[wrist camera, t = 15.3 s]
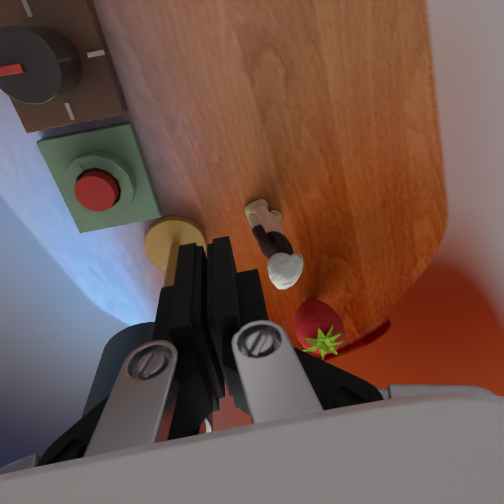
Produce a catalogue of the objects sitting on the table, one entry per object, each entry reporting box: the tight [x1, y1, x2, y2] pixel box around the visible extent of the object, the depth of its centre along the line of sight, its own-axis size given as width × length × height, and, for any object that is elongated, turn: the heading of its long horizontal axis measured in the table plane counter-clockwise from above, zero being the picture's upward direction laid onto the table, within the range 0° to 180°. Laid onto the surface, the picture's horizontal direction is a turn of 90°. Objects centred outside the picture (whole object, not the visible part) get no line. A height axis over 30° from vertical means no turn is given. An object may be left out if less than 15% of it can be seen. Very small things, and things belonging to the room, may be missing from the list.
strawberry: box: [294, 298, 345, 359], centre depth 45 cm, size 6×8×10 cm
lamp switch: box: [75, 170, 119, 212], centre depth 34 cm, size 4×4×2 cm
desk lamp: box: [81, 216, 213, 433], centre depth 32 cm, size 8×8×24 cm
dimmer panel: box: [0, 0, 128, 133], centre depth 30 cm, size 10×9×2 cm
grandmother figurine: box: [245, 199, 303, 289], centre depth 36 cm, size 8×4×13 cm, turn 57°
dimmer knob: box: [0, 26, 82, 105], centre depth 27 cm, size 5×5×5 cm
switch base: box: [37, 122, 162, 233], centre depth 36 cm, size 10×9×3 cm
